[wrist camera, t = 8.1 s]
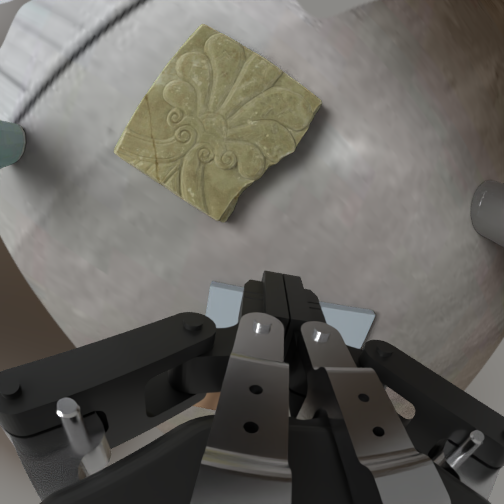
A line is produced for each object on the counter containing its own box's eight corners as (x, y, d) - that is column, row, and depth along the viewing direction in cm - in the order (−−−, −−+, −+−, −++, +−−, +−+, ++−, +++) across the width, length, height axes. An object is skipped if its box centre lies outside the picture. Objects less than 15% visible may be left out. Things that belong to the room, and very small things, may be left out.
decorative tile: (118, 151, 36) (106, 152, 32) (206, 28, 30) (201, 18, 27) (231, 229, 39) (229, 238, 36) (326, 106, 33) (333, 102, 30)
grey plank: (372, 310, 42) (375, 315, 41) (340, 378, 47) (342, 384, 45) (211, 280, 41) (210, 285, 39) (199, 357, 45) (198, 363, 44)
